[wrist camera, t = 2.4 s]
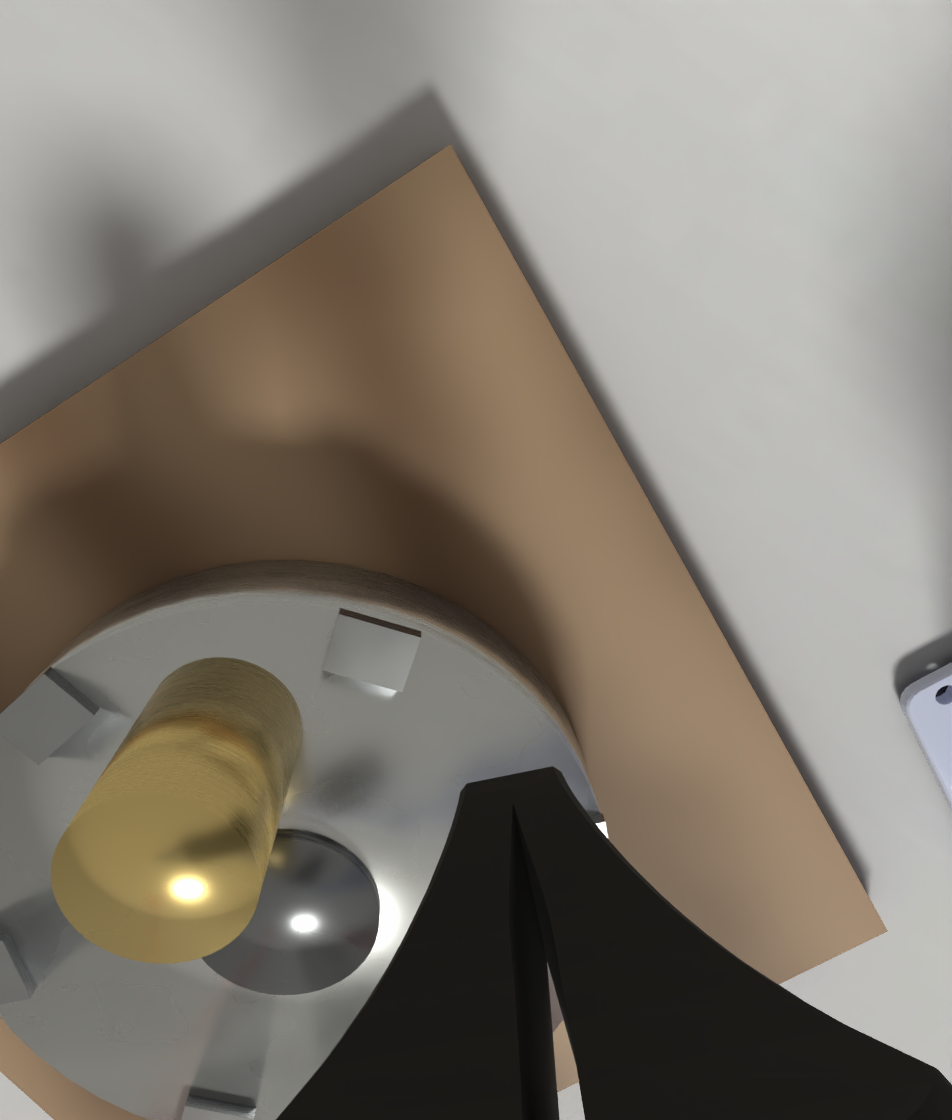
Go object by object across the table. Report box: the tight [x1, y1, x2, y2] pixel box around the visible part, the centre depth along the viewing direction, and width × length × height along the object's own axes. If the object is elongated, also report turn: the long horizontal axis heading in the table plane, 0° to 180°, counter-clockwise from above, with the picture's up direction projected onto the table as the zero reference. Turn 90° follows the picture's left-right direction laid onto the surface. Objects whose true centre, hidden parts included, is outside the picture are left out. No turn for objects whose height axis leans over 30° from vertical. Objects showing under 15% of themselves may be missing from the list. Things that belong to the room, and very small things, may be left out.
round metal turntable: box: [0, 560, 608, 1120], centre depth 17 cm, size 14×14×7 cm
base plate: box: [0, 144, 887, 1120], centre depth 21 cm, size 22×22×1 cm
